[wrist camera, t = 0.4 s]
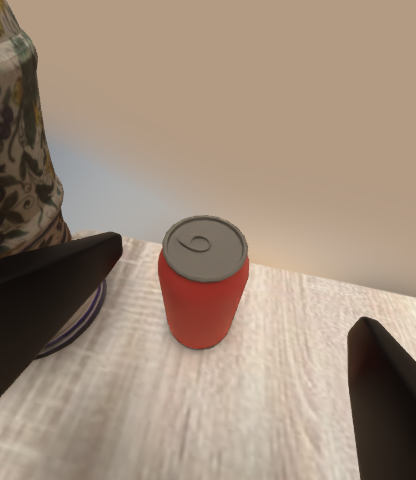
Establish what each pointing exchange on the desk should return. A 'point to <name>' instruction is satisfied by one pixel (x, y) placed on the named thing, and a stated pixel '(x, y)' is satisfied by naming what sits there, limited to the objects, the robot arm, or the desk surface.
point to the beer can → (202, 278)
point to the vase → (30, 170)
